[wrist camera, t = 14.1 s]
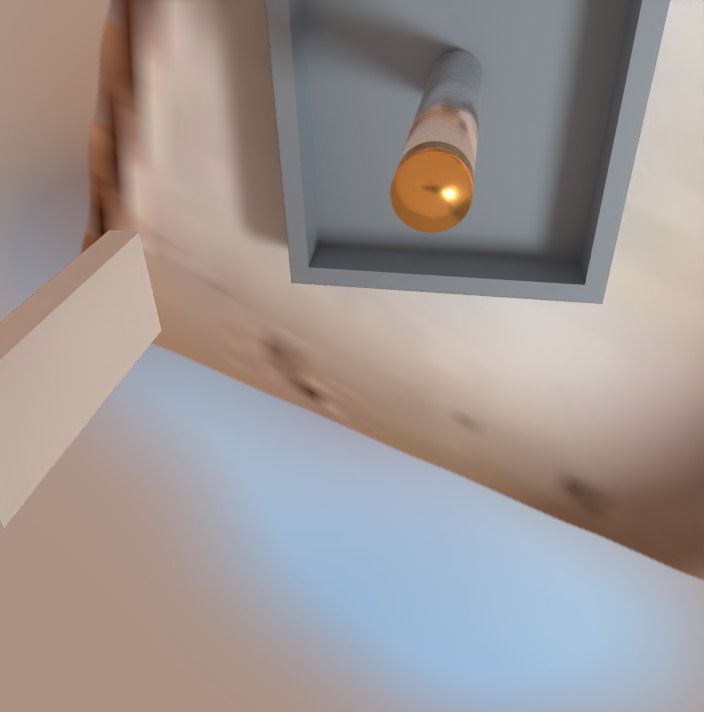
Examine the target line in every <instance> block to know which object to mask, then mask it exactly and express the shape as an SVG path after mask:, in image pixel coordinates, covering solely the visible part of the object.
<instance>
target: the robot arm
mask: <svg viewBox="0 0 704 712" xmlns="http://www.w3.org/2000/svg"><path fill="white" fill-rule="evenodd" d="M160 332H161V326H160V322H159V317H158V313H157V309H156V304H155V300H154V295H153V291H152V286H151V282H150V277H149V273H148V269H147V264H146V260H145V255H144V251H143V246H142V242H141V237H140V233H139V232H132V231H116V230H109V231H108V232H107V233H105V234H104V235H103V236H102V237H101V238H100V239H98V240H97V241H96V242H95V243H94V244H92V245H91V246H90V247H89V248H88V249H86V250H85V251H84V252H83V253H82V254H81V255H79V256H78V257H77V258H76V259H75V260H73V261H72V262H71V263H70V264H69V265H68V266H66V267H65V268H64V269H63V270H62V271H61V272H59V273H58V274H57V275H56V276H55V277H53V278H52V279H51V280H50V281H49V282H48V283H46V284H45V285H44V286H43V287H42V288H40V289H39V290H38V291H37V292H36V293H34V294H33V295H32V296H31V297H30V298H29V299H27V300H26V301H25V302H24V303H23V304H22V305H20V306H19V307H18V308H17V309H16V310H14V311H13V312H12V313H11V314H10V315H8V316H7V317H6V318H5V319H4V320H3V321H1V322H0V528H4V527H5V526H6V525H7V524H8V523H9V521H10V520H11V518H13V516H14V515H15V513H16V512H17V511H18V510H19V509H20V507H21V506H22V505H23V504H24V502H25V501H26V500H27V499H28V497H29V496H30V495H31V494H32V492H33V491H34V490H35V489H36V487H37V486H38V485H39V484H40V482H41V481H42V480H43V478H44V477H45V476H46V475H47V474H48V472H49V471H50V470H51V469H52V467H53V466H54V465H55V464H56V462H57V461H58V460H59V458H60V457H61V456H62V455H63V453H64V452H65V451H66V450H67V448H68V447H69V446H70V444H71V443H72V442H73V441H74V440H75V438H76V437H77V436H78V435H79V433H80V432H81V431H82V430H83V428H84V427H85V426H86V424H87V423H88V422H89V421H90V420H91V418H92V417H93V416H94V414H95V413H96V412H97V411H98V409H99V408H100V407H101V406H102V404H103V403H104V402H105V401H106V399H107V398H108V397H109V396H110V394H111V393H112V392H113V391H114V389H115V388H116V387H117V385H118V384H119V383H120V382H121V381H122V379H123V378H124V377H125V376H126V374H127V373H128V372H129V371H130V369H131V368H132V367H133V366H134V364H135V363H136V362H137V361H138V359H139V358H140V357H141V356H142V354H143V353H144V351H146V349H147V348H148V347H149V345H150V344H151V343H152V342H153V340H154V339H155V338H156V337H157V335H158V334H159V333H160Z"/></svg>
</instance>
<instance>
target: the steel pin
mask: <svg viewBox="0 0 704 712" xmlns="http://www.w3.org/2000/svg"><path fill="white" fill-rule="evenodd" d="M482 82H483V70H482V66H481V64H480V62H479V60H478V59H477V58H476V57H475V56H474V55H473V54H472V53H470V52H468V51H465V50H461V49H455V50H450V51H448V52H446V53H444V54H442V55H441V56H440V57H439V58H438V59H437V60H436V62H435V63H434V65H433V67H432V70H431V73H430V76H429V78H428V81H427V84H426V87H425V90H424V93H423V95H422V98H421V101H420V104H419V107H418V110H417V113H416V115H415V118H414V121H413V124H412V127H411V130H410V132H409V135H408V138H407V141H406V144H405V147H404V150H403V152H402V155H401V158H400V161H399V164H398V167H397V169H396V172H395V175H394V178H393V181H392V184H391V188H390V199H391V204H392V207H393V209H394V211H395V213H396V215H397V216H398V217H399V219H400V220H401V221H402V222H403V223H405V224H406V225H407V226H409V227H410V228H412V229H414V230H417V231H420V232H425V233H438V232H443V231H446V230H448V229H451V228H452V227H454V226H456V225H457V224H458V223H459V222H460V221H462V219H463V218H464V217H465V216H466V214H467V213H468V211H469V208H470V206H471V202H472V196H473V184H474V173H475V162H476V150H477V139H478V128H479V116H480V105H481V94H482Z"/></svg>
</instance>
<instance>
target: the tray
mask: <svg viewBox="0 0 704 712" xmlns="http://www.w3.org/2000/svg"><path fill="white" fill-rule="evenodd" d="M265 2H266V13H267V24H268V35H269V46H270V56H271V67H272V78H273V89H274V99H275V110H276V121H277V132H278V142H279V153H280V164H281V175H282V186H283V196H284V207H285V218H286V229H287V239H288V250H289V261H290V272H291V283H302V284H317V285H331V286H346V287H361V288H376V289H390V290H405V291H420V292H434V293H449V294H464V295H479V296H493V297H508V298H523V299H537V300H552V301H567V302H581V303H596V304H602V303H603V299H604V294H605V290H606V285H607V281H608V276H609V272H610V267H611V263H612V258H613V254H614V249H615V245H616V240H617V236H618V231H619V227H620V222H621V218H622V213H623V209H624V204H625V200H626V195H627V191H628V187H629V182H630V178H631V173H632V169H633V164H634V160H635V155H636V151H637V146H638V142H639V137H640V133H641V128H642V124H643V119H644V115H645V110H646V106H647V101H648V97H649V92H650V88H651V83H652V79H653V74H654V70H655V65H656V61H657V57H658V52H659V48H660V43H661V39H662V34H663V30H664V25H665V21H666V16H667V12H668V7H669V3H670V0H265ZM455 49H461V50H465V51H468V52H470V53H472V54H473V55H474V56H475V57H476V58H477V59H478V60H479V62H480V64H481V66H482V70H483V82H482V94H481V105H480V116H479V128H478V139H477V150H476V162H475V173H474V184H473V196H472V202H471V206H470V208H469V211H468V213H467V214H466V216H465V217H464V218H463V219H462V221H460V222H459V223H458V224H457V225H456V226H454V227H452V228H451V229H448V230H446V231H443V232H438V233H425V232H420V231H417V230H414V229H412V228H410V227H409V226H407V225H406V224H405V223H403V222H402V221H401V220H400V219H399V217H398V216H397V215H396V213H395V211H394V209H393V207H392V204H391V199H390V188H391V184H392V181H393V178H394V175H395V172H396V169H397V167H398V164H399V161H400V158H401V155H402V152H403V150H404V147H405V144H406V141H407V138H408V135H409V132H410V130H411V127H412V124H413V121H414V118H415V115H416V113H417V110H418V107H419V104H420V101H421V98H422V95H423V93H424V90H425V87H426V84H427V81H428V78H429V76H430V73H431V70H432V67H433V65H434V63H435V62H436V60H437V59H438V58H439V57H440V56H441V55H442V54H444V53H446V52H448V51H450V50H455Z"/></svg>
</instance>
